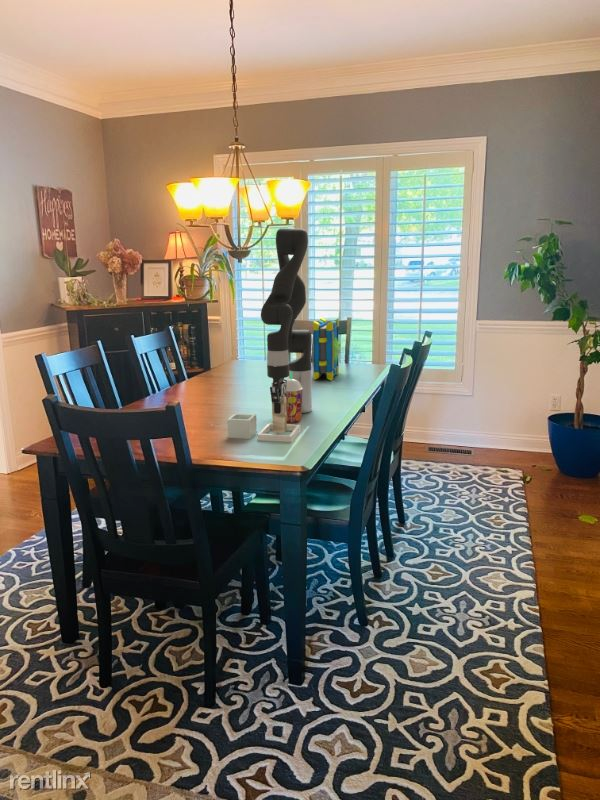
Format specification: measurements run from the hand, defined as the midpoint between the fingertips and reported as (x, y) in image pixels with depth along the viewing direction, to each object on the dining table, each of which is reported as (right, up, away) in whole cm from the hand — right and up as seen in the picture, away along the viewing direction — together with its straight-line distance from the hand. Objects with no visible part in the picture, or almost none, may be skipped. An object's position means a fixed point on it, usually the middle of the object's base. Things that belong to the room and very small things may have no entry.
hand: (279, 411), depth 204 cm
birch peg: (0, -7, +2) cm, 7 cm away
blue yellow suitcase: (+21, +16, +106) cm, 109 cm away
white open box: (-13, -9, +3) cm, 16 cm away
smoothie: (+4, -5, +20) cm, 21 cm away
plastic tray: (0, -9, +2) cm, 10 cm away
